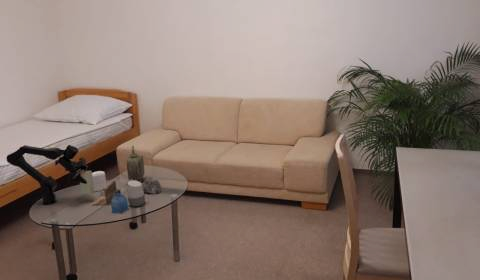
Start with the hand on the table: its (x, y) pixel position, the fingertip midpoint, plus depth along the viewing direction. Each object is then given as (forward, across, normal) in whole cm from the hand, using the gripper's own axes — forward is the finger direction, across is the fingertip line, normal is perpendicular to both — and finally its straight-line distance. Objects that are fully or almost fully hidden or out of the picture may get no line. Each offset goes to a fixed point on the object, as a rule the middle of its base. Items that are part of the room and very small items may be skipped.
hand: (88, 181), depth 253 cm
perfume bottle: (+25, -16, -8) cm, 31 cm away
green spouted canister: (+22, +32, -4) cm, 39 cm away
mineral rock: (+32, +13, -14) cm, 37 cm away
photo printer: (+7, +19, +11) cm, 23 cm away
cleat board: (+14, 0, +3) cm, 15 cm away
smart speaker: (+30, -8, -13) cm, 34 cm away
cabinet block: (+4, 0, +6) cm, 7 cm away
